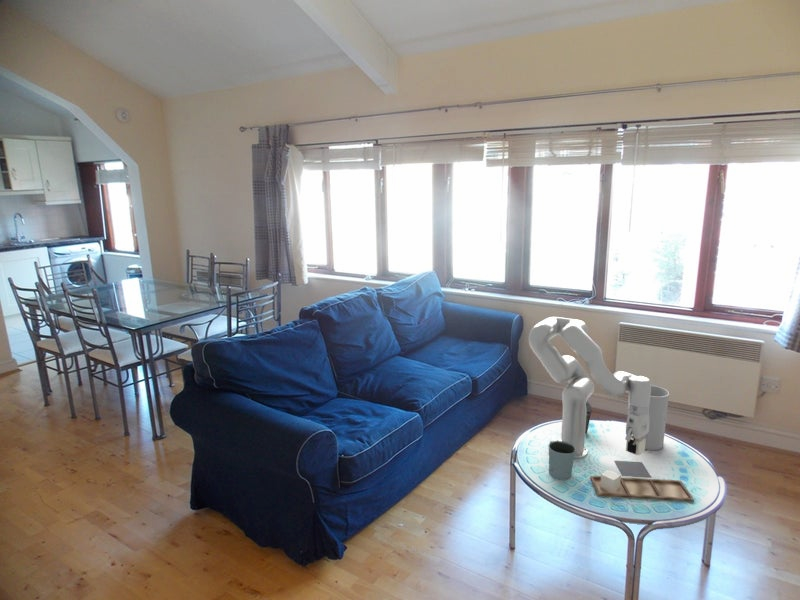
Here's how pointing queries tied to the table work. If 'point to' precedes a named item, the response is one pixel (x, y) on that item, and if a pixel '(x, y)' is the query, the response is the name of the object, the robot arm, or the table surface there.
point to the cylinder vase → (657, 418)
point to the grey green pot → (561, 459)
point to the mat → (632, 469)
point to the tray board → (646, 489)
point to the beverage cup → (588, 415)
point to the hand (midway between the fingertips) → (635, 449)
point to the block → (610, 481)
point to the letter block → (639, 445)
